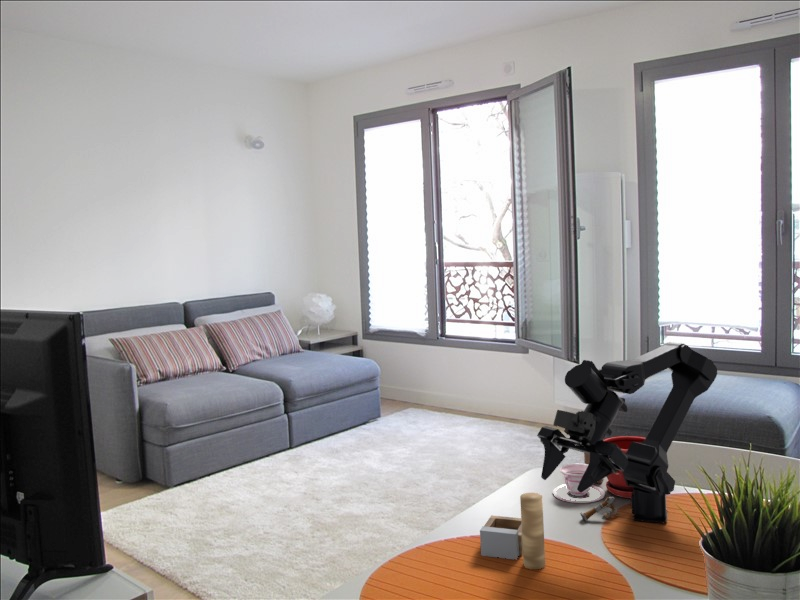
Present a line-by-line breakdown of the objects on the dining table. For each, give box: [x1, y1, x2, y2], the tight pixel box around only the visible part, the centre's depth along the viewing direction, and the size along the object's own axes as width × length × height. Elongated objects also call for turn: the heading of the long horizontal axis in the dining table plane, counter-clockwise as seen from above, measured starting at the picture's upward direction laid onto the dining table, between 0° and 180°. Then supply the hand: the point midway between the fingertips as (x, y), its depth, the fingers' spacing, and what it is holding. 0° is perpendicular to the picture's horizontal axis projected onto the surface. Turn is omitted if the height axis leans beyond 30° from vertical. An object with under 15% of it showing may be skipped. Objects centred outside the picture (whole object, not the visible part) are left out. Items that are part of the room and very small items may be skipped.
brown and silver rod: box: [579, 496, 619, 523], centre depth 146 cm, size 2×8×4 cm, turn 101°
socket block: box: [483, 514, 523, 556], centre depth 136 cm, size 8×8×4 cm
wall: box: [479, 525, 520, 561], centre depth 132 cm, size 7×2×5 cm, turn 67°
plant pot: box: [603, 435, 646, 499], centre depth 160 cm, size 13×13×12 cm
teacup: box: [552, 462, 606, 504], centre depth 161 cm, size 12×12×6 cm
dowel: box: [519, 492, 546, 570], centre depth 127 cm, size 4×4×13 cm
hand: (560, 484), depth 131 cm, fingers open, 9 cm apart
